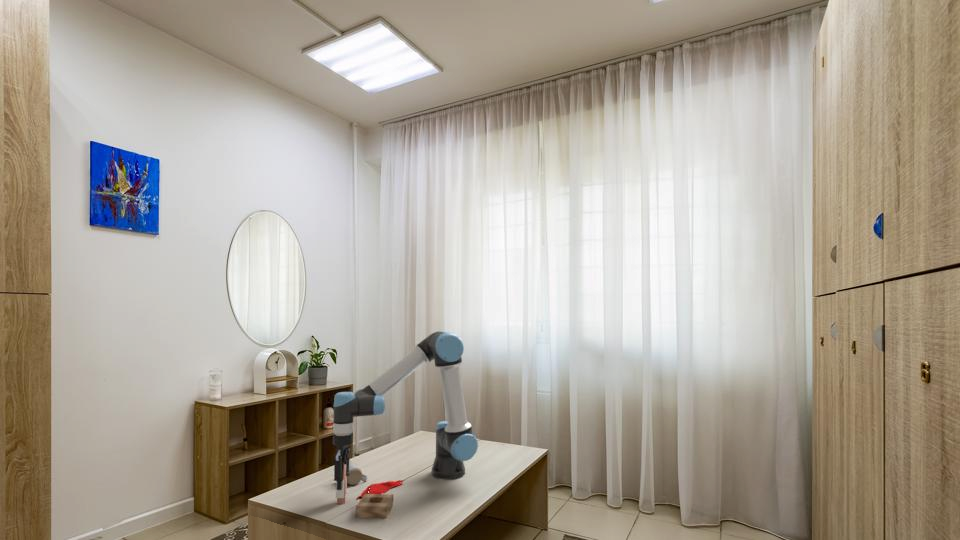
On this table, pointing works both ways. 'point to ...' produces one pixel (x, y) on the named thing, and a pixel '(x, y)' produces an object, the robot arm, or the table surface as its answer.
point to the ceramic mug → (355, 474)
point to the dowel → (342, 500)
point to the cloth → (380, 487)
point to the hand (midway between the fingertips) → (341, 495)
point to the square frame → (374, 506)
